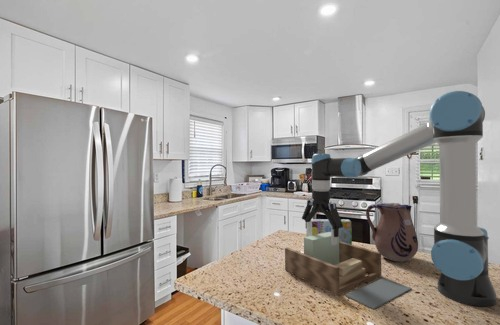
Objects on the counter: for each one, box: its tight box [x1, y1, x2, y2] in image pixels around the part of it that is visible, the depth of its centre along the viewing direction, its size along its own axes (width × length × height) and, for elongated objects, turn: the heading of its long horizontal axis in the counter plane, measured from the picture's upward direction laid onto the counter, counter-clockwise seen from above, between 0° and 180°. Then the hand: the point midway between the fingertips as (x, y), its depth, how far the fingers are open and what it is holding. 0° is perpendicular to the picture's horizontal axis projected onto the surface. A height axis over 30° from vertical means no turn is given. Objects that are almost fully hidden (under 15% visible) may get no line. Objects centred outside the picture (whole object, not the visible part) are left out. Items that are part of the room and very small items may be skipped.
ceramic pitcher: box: [365, 202, 419, 262], centre depth 122 cm, size 18×21×25 cm
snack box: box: [311, 218, 353, 245], centre depth 137 cm, size 21×6×15 cm, turn 84°
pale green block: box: [303, 232, 340, 265], centre depth 110 cm, size 5×16×14 cm, turn 123°
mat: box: [344, 277, 412, 310], centre depth 89 cm, size 10×23×1 cm, turn 123°
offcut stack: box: [335, 258, 367, 287], centre depth 100 cm, size 5×16×6 cm, turn 123°
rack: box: [284, 241, 382, 296], centre depth 106 cm, size 26×27×9 cm
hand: (321, 240), depth 110 cm, fingers open, 13 cm apart
